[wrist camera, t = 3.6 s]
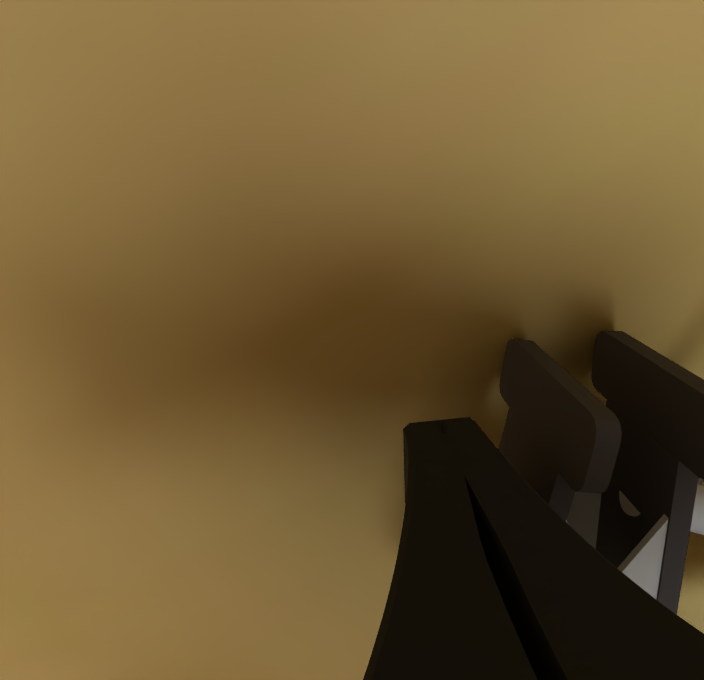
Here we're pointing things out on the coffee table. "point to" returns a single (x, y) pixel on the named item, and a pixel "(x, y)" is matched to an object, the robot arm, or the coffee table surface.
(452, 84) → the coffee table surface
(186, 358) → the coffee table surface
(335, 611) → the coffee table surface
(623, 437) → the clip-on lamp
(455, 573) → the robot arm
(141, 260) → the coffee table surface
